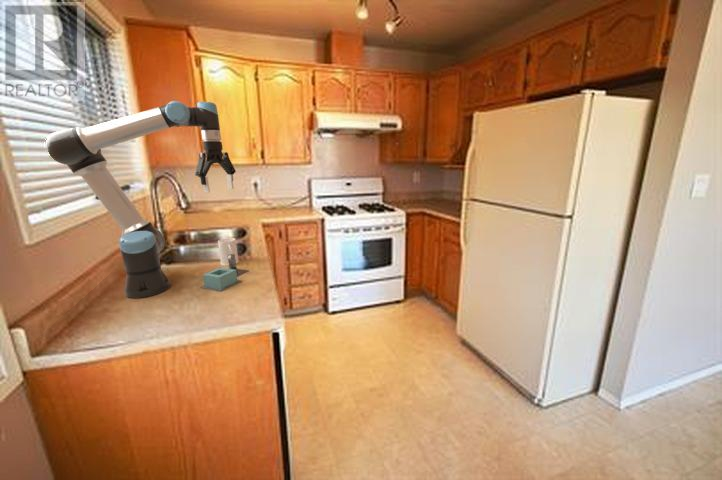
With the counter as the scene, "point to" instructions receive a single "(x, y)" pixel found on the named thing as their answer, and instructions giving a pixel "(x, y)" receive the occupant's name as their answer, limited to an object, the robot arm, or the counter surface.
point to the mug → (227, 250)
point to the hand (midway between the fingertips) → (219, 190)
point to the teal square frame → (220, 278)
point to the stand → (233, 265)
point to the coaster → (220, 289)
